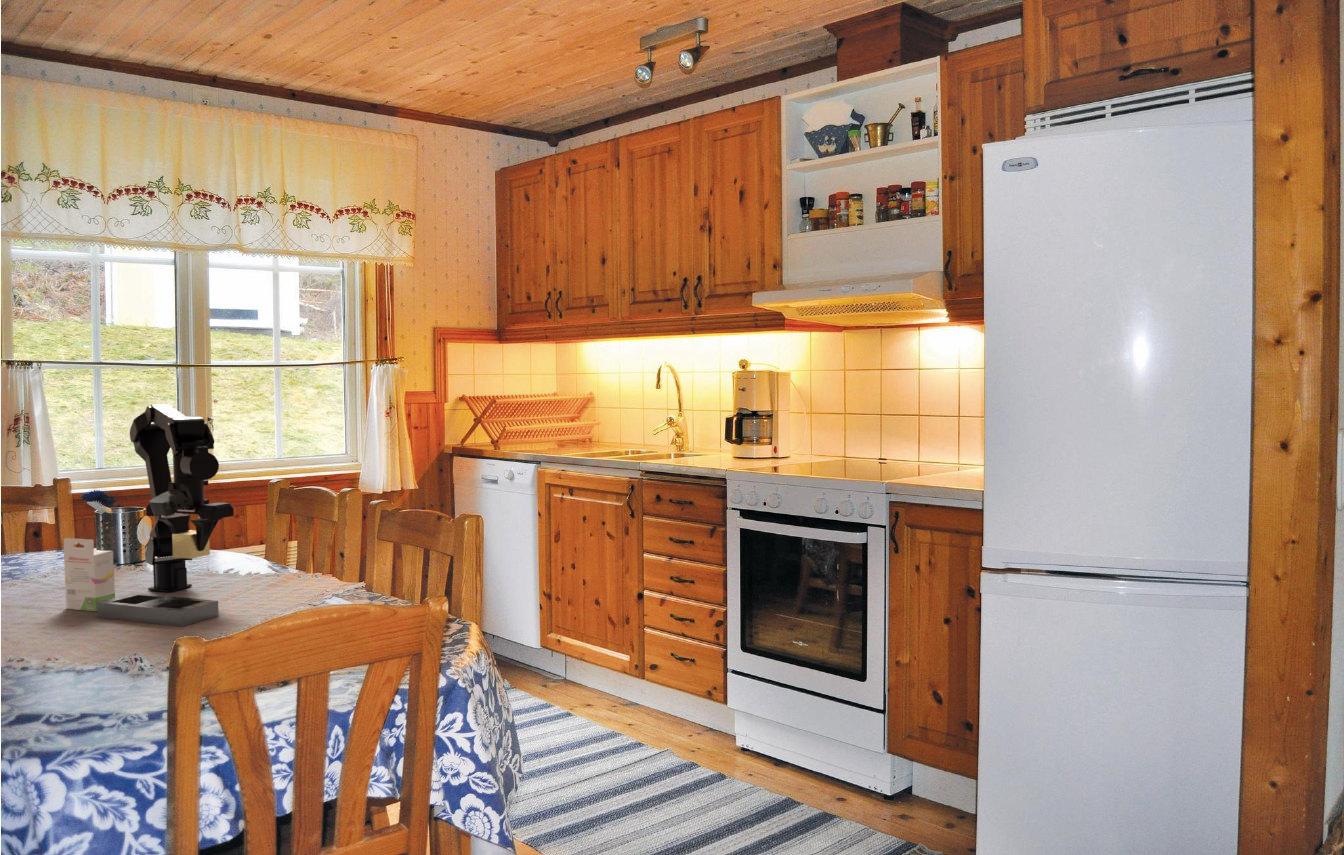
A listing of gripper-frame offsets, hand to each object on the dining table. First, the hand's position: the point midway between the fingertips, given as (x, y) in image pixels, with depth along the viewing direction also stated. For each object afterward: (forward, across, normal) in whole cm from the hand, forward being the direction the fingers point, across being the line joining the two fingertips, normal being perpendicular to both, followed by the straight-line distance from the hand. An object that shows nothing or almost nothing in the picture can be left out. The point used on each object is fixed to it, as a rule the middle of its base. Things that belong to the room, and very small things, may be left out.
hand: (191, 550), depth 213 cm
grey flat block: (+11, +4, -13) cm, 17 cm away
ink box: (+11, -15, -12) cm, 22 cm away
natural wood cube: (+1, 0, 0) cm, 1 cm away
